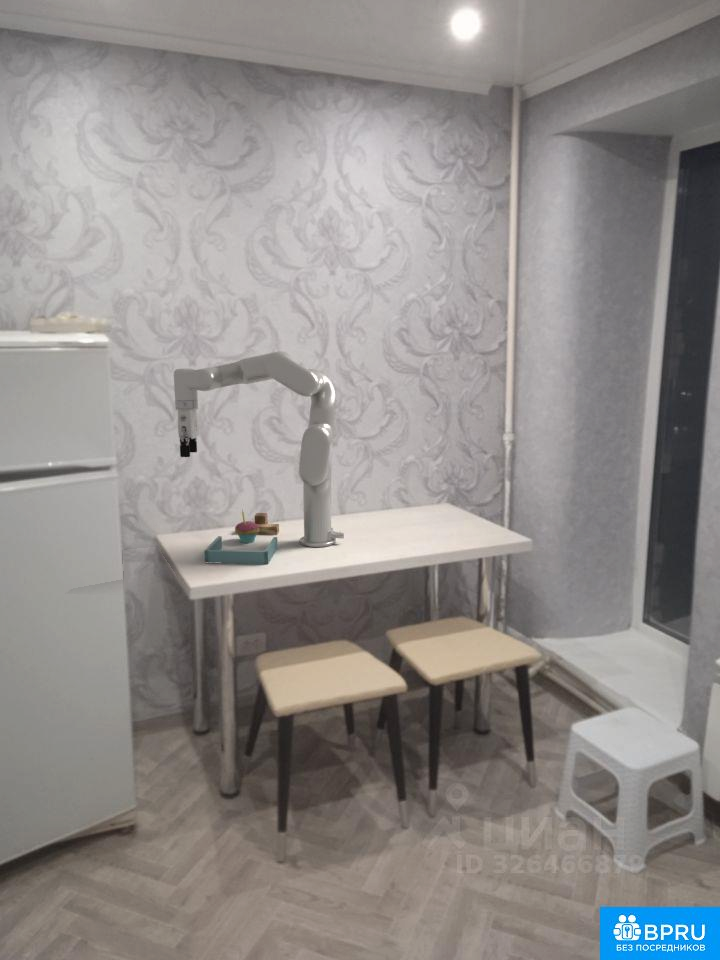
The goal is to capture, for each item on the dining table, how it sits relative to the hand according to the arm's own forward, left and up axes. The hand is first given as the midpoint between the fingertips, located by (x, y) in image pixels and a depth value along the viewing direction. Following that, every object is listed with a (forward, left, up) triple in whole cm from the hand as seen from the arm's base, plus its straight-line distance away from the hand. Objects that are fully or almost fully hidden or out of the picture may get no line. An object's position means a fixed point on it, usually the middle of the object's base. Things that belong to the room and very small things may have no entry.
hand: (188, 454), depth 252 cm
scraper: (-22, -13, -31) cm, 40 cm away
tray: (-22, +16, -31) cm, 41 cm away
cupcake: (-20, 0, -31) cm, 37 cm away
